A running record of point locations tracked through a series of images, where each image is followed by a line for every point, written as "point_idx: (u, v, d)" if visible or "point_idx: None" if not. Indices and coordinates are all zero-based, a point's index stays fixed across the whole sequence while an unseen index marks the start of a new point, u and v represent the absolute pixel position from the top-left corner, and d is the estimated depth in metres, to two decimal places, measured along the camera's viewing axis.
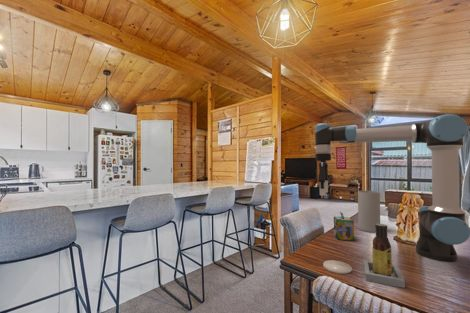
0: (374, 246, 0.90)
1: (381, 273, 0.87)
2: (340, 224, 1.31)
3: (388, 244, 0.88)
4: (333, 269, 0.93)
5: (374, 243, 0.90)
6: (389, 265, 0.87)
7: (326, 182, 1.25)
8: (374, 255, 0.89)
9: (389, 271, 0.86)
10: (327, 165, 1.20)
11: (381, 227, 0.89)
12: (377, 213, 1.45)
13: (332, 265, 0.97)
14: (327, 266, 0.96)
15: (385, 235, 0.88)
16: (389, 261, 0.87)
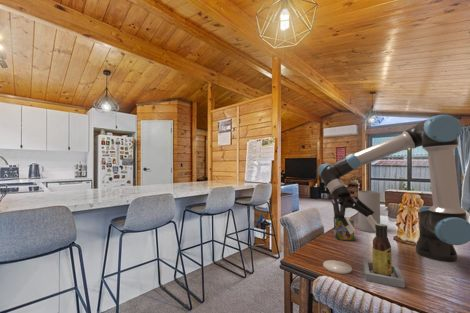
0: (374, 246, 0.90)
1: (381, 273, 0.87)
2: (340, 224, 1.31)
3: (388, 244, 0.88)
4: (333, 269, 0.93)
5: (374, 243, 0.90)
6: (389, 265, 0.87)
7: (370, 217, 1.01)
8: (374, 255, 0.89)
9: (389, 271, 0.86)
10: (349, 199, 1.05)
11: (381, 227, 0.89)
12: (377, 213, 1.45)
13: (332, 265, 0.97)
14: (327, 266, 0.96)
15: (385, 235, 0.88)
16: (389, 261, 0.87)
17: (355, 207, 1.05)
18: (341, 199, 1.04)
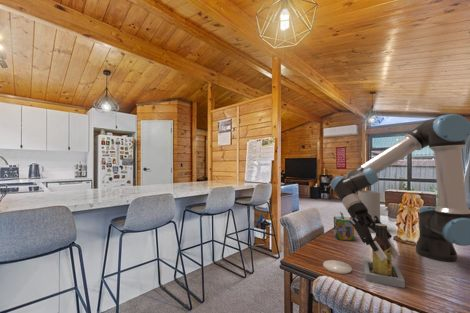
0: None
1: (381, 273, 0.87)
2: (340, 224, 1.31)
3: (388, 244, 0.87)
4: (333, 269, 0.93)
5: None
6: (389, 265, 0.87)
7: None
8: (374, 255, 0.89)
9: (389, 271, 0.86)
10: (367, 216, 0.97)
11: (381, 227, 0.89)
12: (377, 213, 1.45)
13: (332, 265, 0.97)
14: (327, 266, 0.96)
15: (385, 235, 0.88)
16: (389, 261, 0.87)
17: (372, 226, 0.96)
18: (358, 216, 0.96)
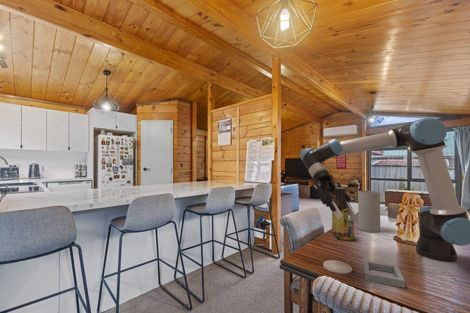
0: None
1: (338, 231, 0.94)
2: None
3: (345, 205, 0.94)
4: (333, 269, 0.93)
5: None
6: (345, 224, 0.93)
7: None
8: (333, 216, 0.96)
9: (345, 229, 0.93)
10: (329, 182, 1.03)
11: (339, 189, 0.95)
12: (377, 213, 1.45)
13: (332, 265, 0.97)
14: (327, 266, 0.96)
15: (343, 197, 0.95)
16: (345, 220, 0.93)
17: (334, 191, 1.02)
18: (321, 182, 1.03)
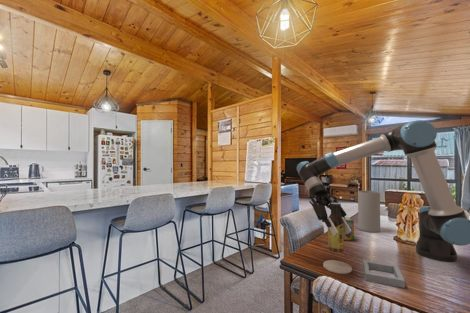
0: None
1: (334, 247, 0.94)
2: None
3: (340, 220, 0.95)
4: (333, 269, 0.93)
5: None
6: (341, 240, 0.94)
7: None
8: (328, 231, 0.97)
9: (341, 245, 0.94)
10: (325, 196, 1.04)
11: (334, 205, 0.96)
12: (377, 213, 1.45)
13: (332, 265, 0.97)
14: (327, 266, 0.96)
15: (338, 212, 0.96)
16: (341, 236, 0.94)
17: (329, 206, 1.03)
18: (317, 197, 1.04)
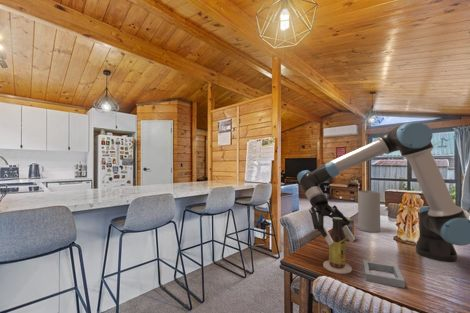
0: None
1: (335, 262, 0.94)
2: None
3: (342, 236, 0.94)
4: (333, 269, 0.93)
5: (330, 235, 0.97)
6: (342, 255, 0.94)
7: (345, 227, 0.99)
8: (330, 246, 0.96)
9: (342, 261, 0.93)
10: (326, 207, 1.04)
11: (336, 220, 0.96)
12: (377, 213, 1.45)
13: None
14: (327, 266, 0.96)
15: (340, 228, 0.95)
16: (342, 251, 0.94)
17: (332, 216, 1.03)
18: (318, 207, 1.03)
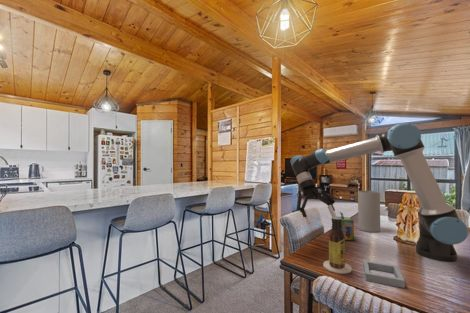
0: (330, 238, 0.97)
1: (335, 263, 0.94)
2: None
3: (342, 236, 0.95)
4: (333, 269, 0.93)
5: (330, 235, 0.97)
6: (342, 255, 0.94)
7: (330, 207, 1.15)
8: (329, 246, 0.96)
9: (342, 261, 0.93)
10: (313, 191, 1.17)
11: (336, 220, 0.96)
12: (377, 213, 1.45)
13: None
14: (327, 266, 0.96)
15: (339, 228, 0.95)
16: (342, 251, 0.94)
17: (318, 197, 1.18)
18: (305, 191, 1.18)
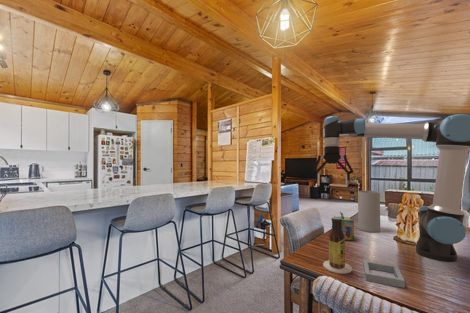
0: (330, 238, 0.97)
1: (335, 263, 0.94)
2: None
3: (342, 236, 0.95)
4: (333, 269, 0.93)
5: (330, 235, 0.97)
6: (342, 255, 0.94)
7: None
8: (329, 246, 0.96)
9: (342, 261, 0.93)
10: (333, 158, 1.20)
11: (336, 220, 0.96)
12: (377, 213, 1.45)
13: None
14: (327, 266, 0.96)
15: (339, 228, 0.95)
16: (342, 251, 0.94)
17: None
18: (325, 157, 1.22)
